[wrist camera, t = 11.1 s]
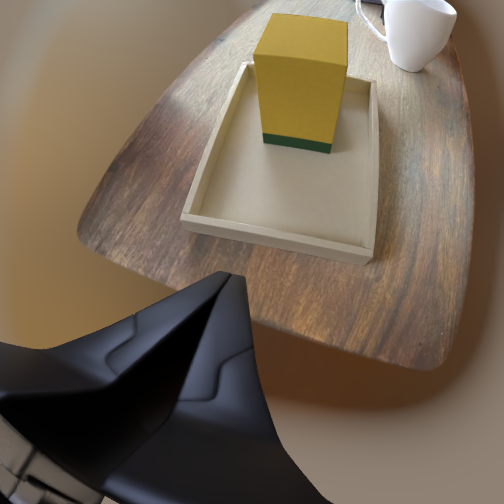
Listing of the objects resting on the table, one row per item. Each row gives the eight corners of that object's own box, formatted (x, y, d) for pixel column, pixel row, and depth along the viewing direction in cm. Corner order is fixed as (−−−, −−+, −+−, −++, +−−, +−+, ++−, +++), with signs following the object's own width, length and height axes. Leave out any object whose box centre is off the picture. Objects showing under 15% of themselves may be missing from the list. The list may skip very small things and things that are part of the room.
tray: (363, 266, 21) (373, 257, 19) (189, 231, 23) (179, 219, 21) (371, 96, 26) (376, 80, 24) (245, 77, 28) (242, 61, 26)
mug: (429, 59, 28) (450, 1, 17) (435, 90, 26) (464, 24, 15) (352, 33, 30) (359, -30, 19) (346, 60, 28) (357, -16, 17)
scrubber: (329, 154, 24) (347, 66, 14) (263, 143, 25) (252, 54, 15) (335, 102, 25) (347, 21, 16) (277, 93, 26) (272, 12, 17)
